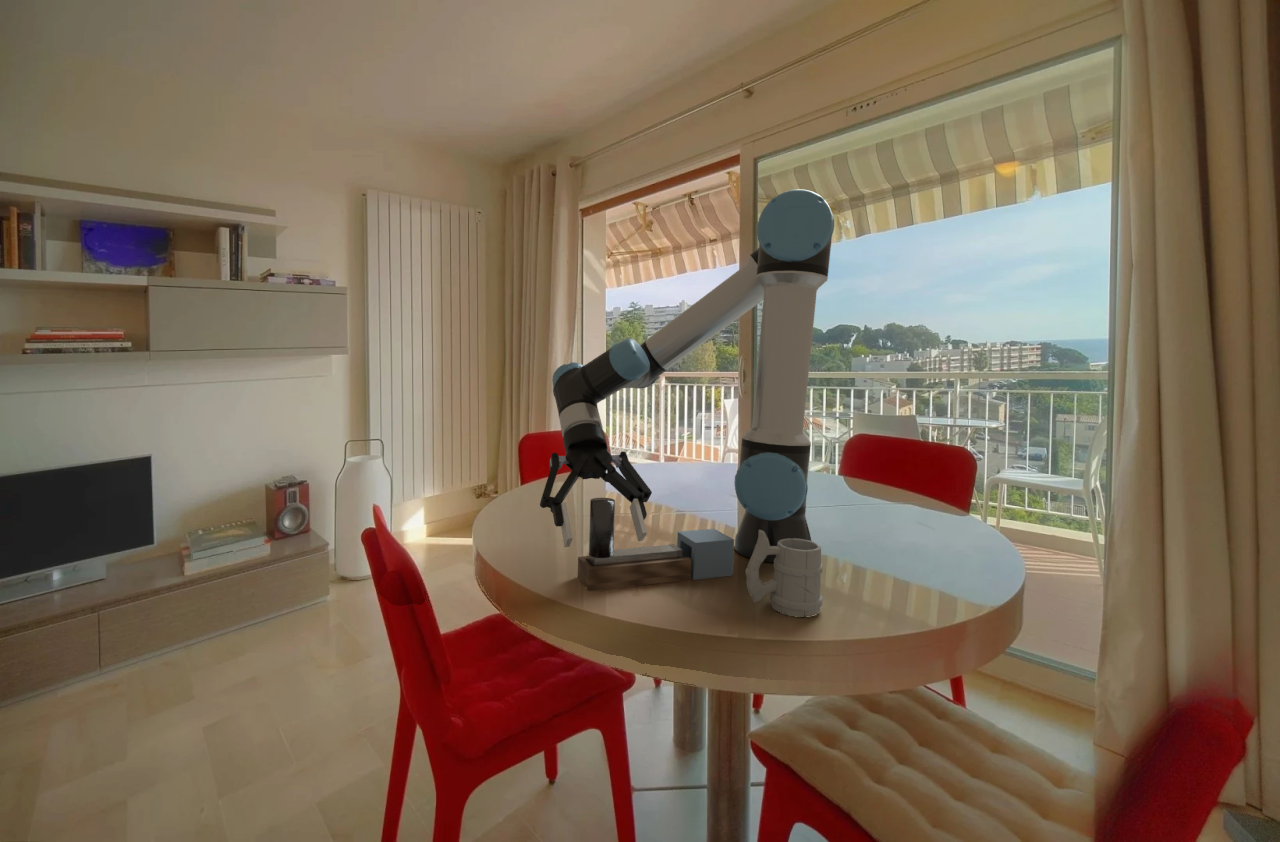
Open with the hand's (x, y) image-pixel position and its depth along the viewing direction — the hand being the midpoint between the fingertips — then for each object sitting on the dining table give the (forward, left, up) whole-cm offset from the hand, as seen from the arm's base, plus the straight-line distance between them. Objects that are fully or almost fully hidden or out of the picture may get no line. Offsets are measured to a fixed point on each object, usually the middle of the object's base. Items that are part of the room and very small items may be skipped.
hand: (606, 539), depth 89 cm
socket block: (-19, -3, -8) cm, 21 cm away
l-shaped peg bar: (-6, -3, -7) cm, 9 cm away
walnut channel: (-6, -3, -8) cm, 10 cm away
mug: (-23, +15, -8) cm, 29 cm away
